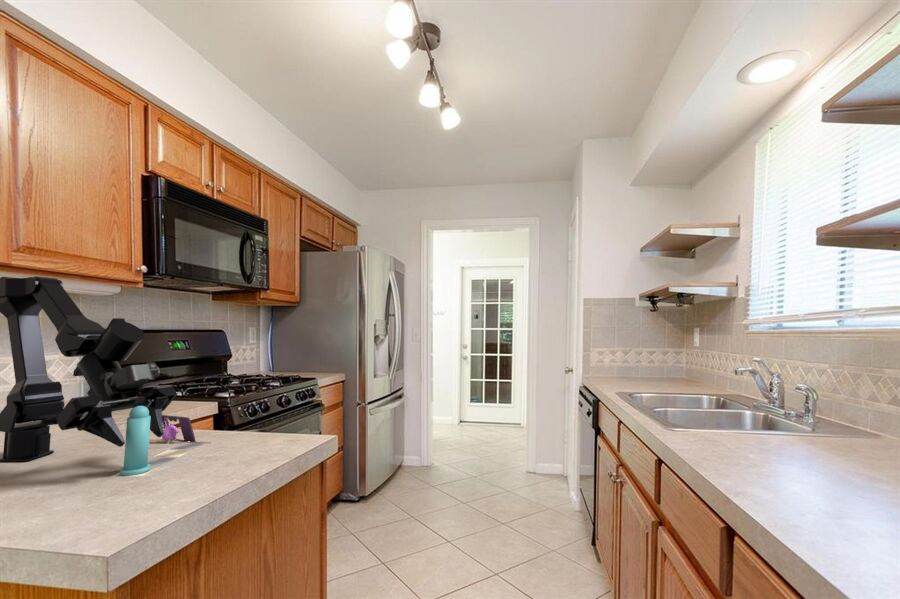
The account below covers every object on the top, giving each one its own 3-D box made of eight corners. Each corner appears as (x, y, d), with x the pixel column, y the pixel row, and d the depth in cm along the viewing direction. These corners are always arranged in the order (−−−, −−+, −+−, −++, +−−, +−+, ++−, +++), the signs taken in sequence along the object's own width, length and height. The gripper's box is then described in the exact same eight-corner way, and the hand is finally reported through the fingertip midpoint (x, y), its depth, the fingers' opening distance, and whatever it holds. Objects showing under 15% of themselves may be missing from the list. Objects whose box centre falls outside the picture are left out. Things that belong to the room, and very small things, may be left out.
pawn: (113, 475, 77) (118, 407, 78) (131, 467, 81) (135, 403, 82) (139, 475, 77) (144, 408, 78) (155, 467, 82) (160, 403, 83)
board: (90, 483, 75) (90, 479, 75) (176, 444, 101) (176, 441, 101) (137, 483, 75) (137, 478, 75) (210, 444, 101) (210, 441, 101)
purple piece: (192, 415, 102) (164, 413, 105) (172, 427, 97) (144, 424, 100) (198, 440, 104) (171, 437, 107) (179, 453, 99) (152, 449, 102)
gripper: (72, 351, 73) (112, 421, 69) (173, 347, 91) (210, 403, 87) (39, 394, 75) (76, 465, 71) (144, 383, 93) (179, 439, 89)
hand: (142, 440), depth 79 cm, fingers open, 7 cm apart
